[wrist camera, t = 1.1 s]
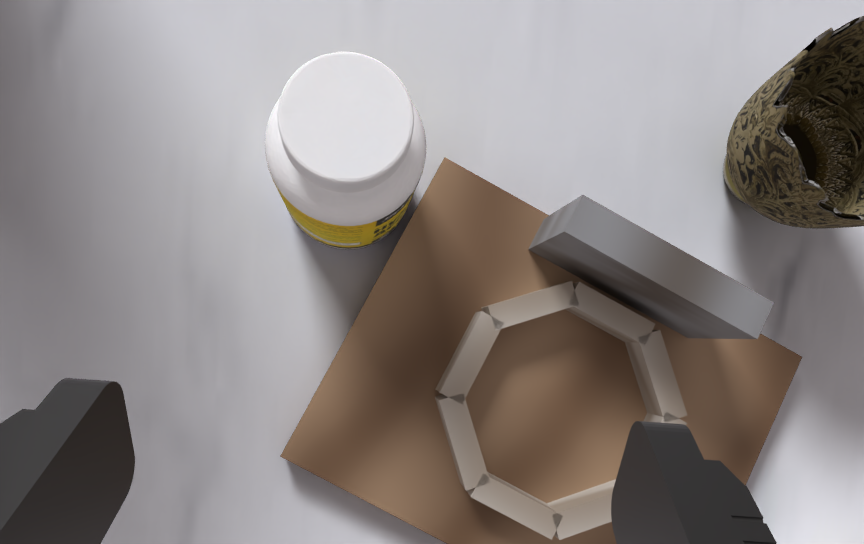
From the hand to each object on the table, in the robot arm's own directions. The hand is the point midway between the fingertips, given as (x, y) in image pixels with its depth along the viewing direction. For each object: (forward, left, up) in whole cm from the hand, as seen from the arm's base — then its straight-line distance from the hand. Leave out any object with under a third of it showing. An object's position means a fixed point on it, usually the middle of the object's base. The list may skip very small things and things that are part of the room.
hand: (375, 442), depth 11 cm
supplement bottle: (-4, +7, -18) cm, 20 cm away
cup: (+12, +17, -18) cm, 27 cm away
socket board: (+8, +3, -18) cm, 20 cm away
